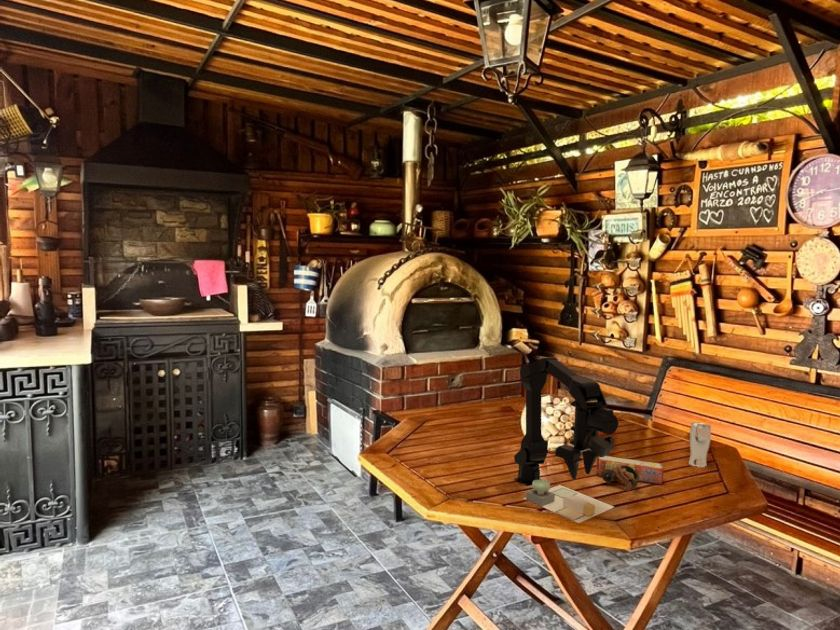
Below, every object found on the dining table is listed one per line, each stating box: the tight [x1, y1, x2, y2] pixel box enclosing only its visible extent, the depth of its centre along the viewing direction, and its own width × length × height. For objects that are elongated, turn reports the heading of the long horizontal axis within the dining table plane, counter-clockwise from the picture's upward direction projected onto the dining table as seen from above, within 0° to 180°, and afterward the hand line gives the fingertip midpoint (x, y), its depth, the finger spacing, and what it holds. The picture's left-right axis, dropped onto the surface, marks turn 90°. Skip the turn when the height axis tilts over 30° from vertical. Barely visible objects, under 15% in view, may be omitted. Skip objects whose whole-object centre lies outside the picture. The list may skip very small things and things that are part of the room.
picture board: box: [523, 484, 614, 524], centre depth 177 cm, size 20×18×1 cm
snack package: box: [596, 455, 665, 485], centre depth 200 cm, size 21×7×7 cm, turn 73°
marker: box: [563, 494, 595, 516], centre depth 172 cm, size 9×3×3 cm, turn 40°
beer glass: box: [688, 422, 712, 468], centre depth 215 cm, size 7×7×15 cm
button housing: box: [525, 488, 555, 507], centre depth 178 cm, size 6×6×3 cm
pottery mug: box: [600, 465, 639, 492], centre depth 192 cm, size 12×10×8 cm
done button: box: [531, 479, 551, 496], centre depth 177 cm, size 5×5×4 cm
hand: (580, 476), depth 171 cm, fingers open, 6 cm apart
